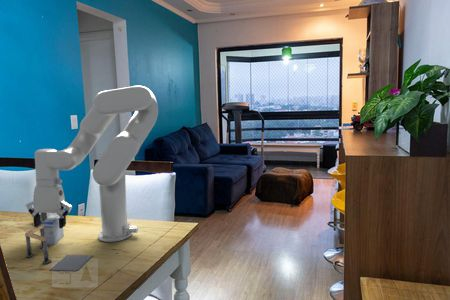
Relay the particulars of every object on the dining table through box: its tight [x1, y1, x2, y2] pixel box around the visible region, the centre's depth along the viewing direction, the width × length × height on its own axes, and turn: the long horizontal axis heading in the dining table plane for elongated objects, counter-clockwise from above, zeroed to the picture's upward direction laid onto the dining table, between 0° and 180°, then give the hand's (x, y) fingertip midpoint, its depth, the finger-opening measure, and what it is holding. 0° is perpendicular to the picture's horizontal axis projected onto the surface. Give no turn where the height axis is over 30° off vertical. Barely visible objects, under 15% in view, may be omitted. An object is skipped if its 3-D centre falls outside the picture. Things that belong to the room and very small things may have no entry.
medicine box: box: [41, 214, 64, 246], centre depth 126 cm, size 8×4×9 cm, turn 5°
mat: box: [49, 254, 93, 272], centre depth 108 cm, size 9×10×1 cm
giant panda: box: [39, 212, 58, 223], centre depth 144 cm, size 15×6×10 cm, turn 58°
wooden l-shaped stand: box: [24, 224, 52, 265], centre depth 114 cm, size 11×13×9 cm
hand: (50, 226), depth 126 cm, fingers open, 9 cm apart
